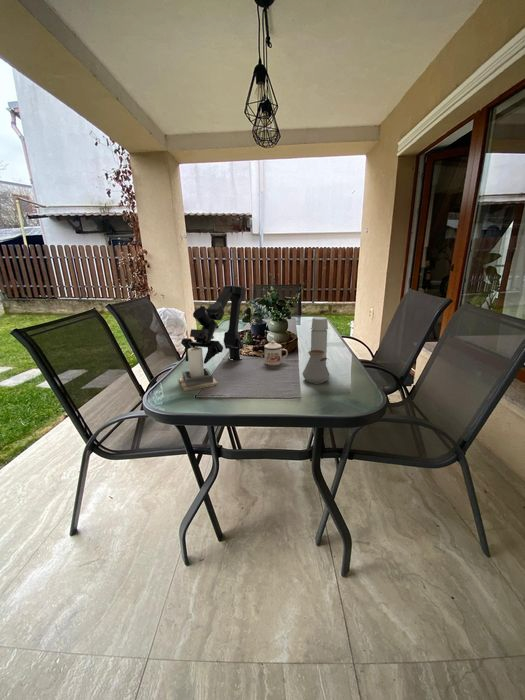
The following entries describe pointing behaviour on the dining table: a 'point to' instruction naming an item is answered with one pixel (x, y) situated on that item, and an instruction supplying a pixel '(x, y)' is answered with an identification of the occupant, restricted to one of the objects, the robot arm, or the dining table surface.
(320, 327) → the water bottle
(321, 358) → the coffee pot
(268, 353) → the teacup with lid
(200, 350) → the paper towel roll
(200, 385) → the roll holder
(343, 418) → the dining table surface
